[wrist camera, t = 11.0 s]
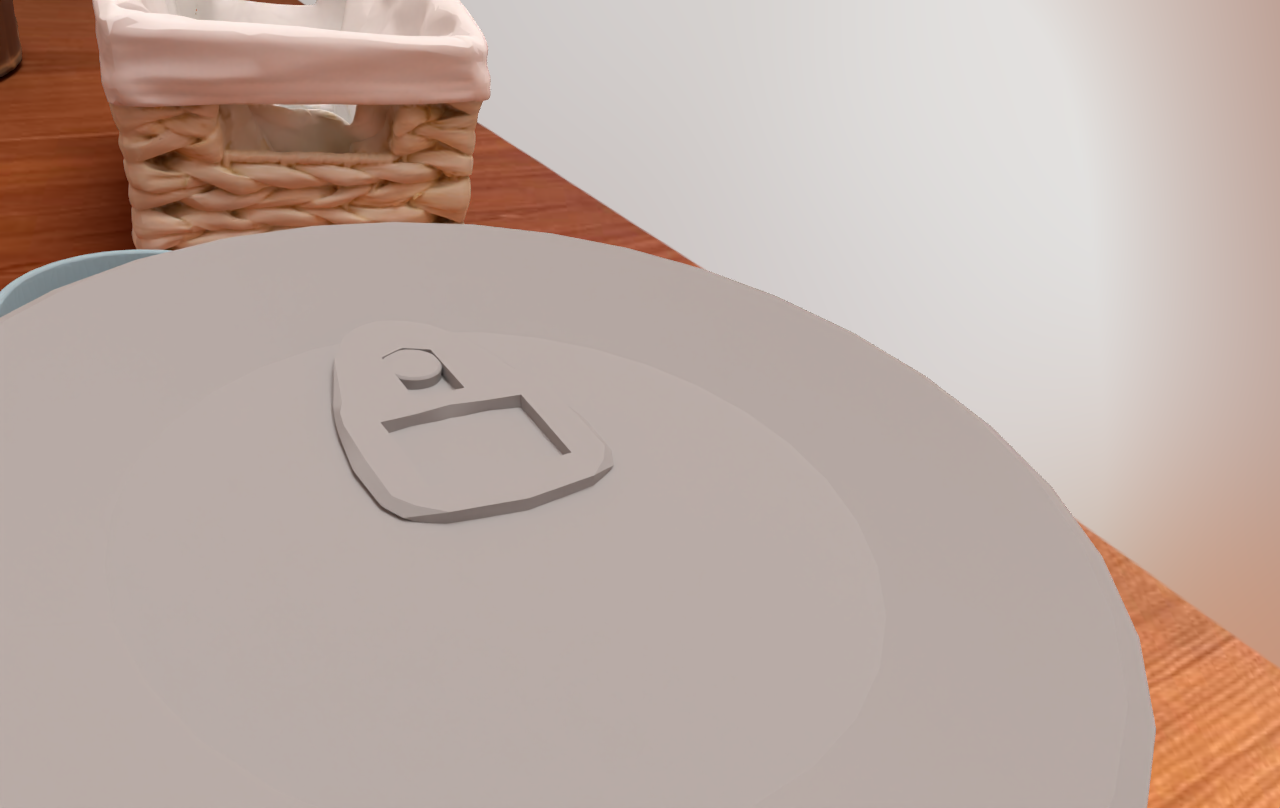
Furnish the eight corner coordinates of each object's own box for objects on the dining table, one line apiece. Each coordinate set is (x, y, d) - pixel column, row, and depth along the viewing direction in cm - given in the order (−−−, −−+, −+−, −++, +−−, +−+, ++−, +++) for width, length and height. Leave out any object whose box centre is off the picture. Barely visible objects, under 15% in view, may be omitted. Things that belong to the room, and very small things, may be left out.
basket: (480, 338, 54) (506, 35, 46) (119, 355, 48) (80, 8, 40) (392, 163, 72) (400, -75, 65) (122, 158, 66) (97, -105, 58)
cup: (-20, 590, 35) (-77, 300, 29) (175, 483, 41) (156, 226, 35) (150, 700, 32) (120, 404, 27) (331, 568, 38) (336, 306, 33)
